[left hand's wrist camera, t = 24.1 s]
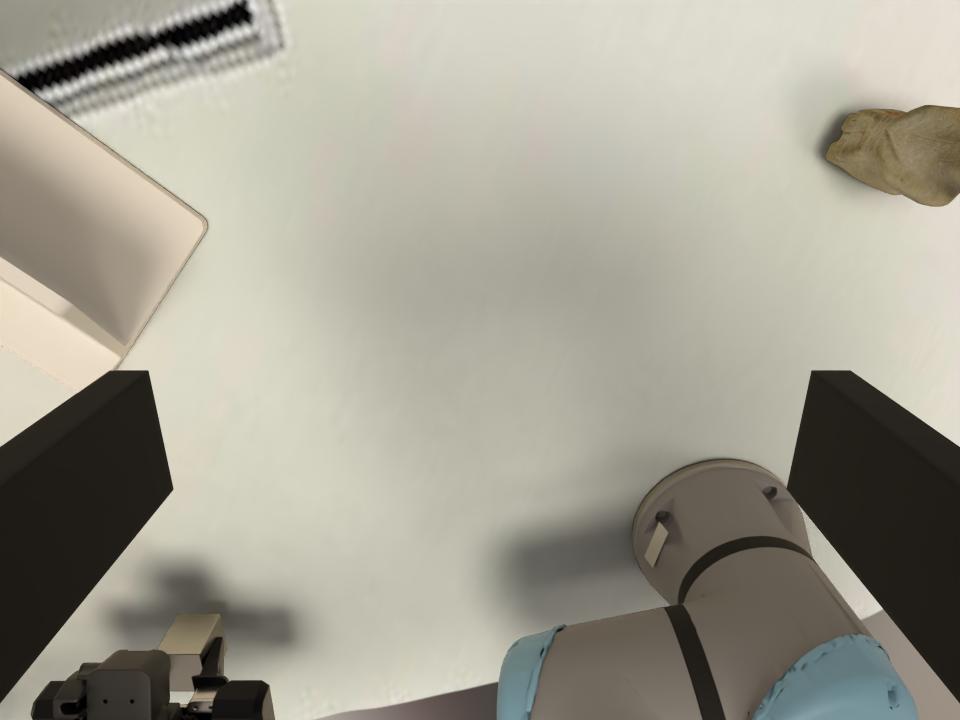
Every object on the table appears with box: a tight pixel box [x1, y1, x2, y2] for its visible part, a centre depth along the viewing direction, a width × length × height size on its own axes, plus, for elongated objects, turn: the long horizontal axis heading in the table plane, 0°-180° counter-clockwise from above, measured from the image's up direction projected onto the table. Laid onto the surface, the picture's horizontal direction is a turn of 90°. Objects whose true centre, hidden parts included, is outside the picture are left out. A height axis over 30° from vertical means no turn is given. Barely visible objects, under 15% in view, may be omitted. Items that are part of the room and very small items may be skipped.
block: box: [157, 614, 227, 691], centre depth 59 cm, size 4×5×5 cm
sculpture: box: [825, 105, 960, 207], centre depth 40 cm, size 6×7×15 cm
